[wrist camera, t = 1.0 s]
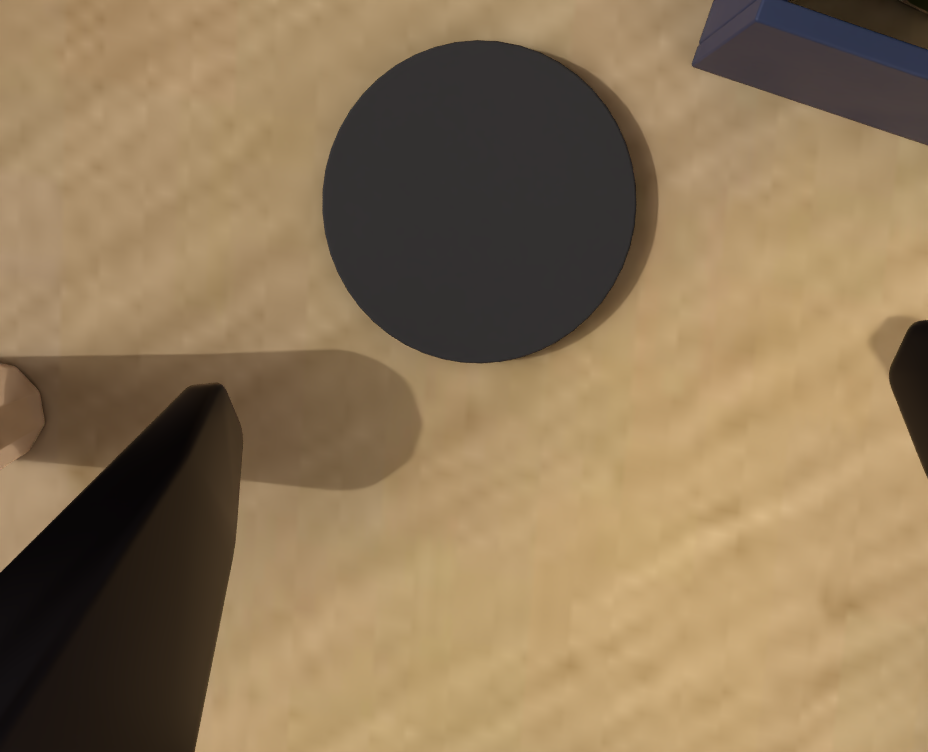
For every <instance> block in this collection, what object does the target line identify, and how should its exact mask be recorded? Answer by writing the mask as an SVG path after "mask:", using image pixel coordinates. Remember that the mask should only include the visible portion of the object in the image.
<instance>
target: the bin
mask: <svg viewBox="0 0 928 752" xmlns="http://www.w3.org/2000/svg"><path fill="white" fill-rule="evenodd" d="M787 1H789V0H714V1H713V4H712V7H711V10H710V13H709V15H708V18H707V21H706V24H705V27H704V30H703V33H702V36H701V38H700V41H699V44H700V45H699V46H698V47H697V50H696V53H695V56H694V59H693V62H692V66H693V67H695V68H698V69H701V70H704V71H707V72H710V73H713V74H716V75H719V76H722V77H725V78H728V79H731V80H734V81H737V82H740V83H743V84H746V85H749V86H752V87H755V88H758V89H761V90H764V91H767V92H770V93H773V94H776V95H779V96H782V97H785V98H788V99H791V100H794V101H797V102H800V103H803V104H806V105H809V106H812V107H815V108H818V109H821V110H824V111H827V112H830V113H833V114H836V115H839V116H842V117H845V118H848V119H851V120H854V121H857V122H860V123H863V124H866V125H869V126H872V127H875V128H878V129H881V130H884V131H887V132H890V133H893V134H896V135H899V136H902V137H905V138H908V139H911V140H914V141H917V142H920V143H923V144H926V145H928V50H927V49H924V48H921V47H918V46H915V45H912V44H910V43H907V42H904V41H901V40H898V39H895V38H892V37H889V36H886V35H883V34H880V33H877V32H875V31H872V30H869V29H866V28H863V27H860V26H857V25H854V24H851V23H848V22H845V21H843V20H840V19H837V18H834V17H831V16H828V15H825V14H822V13H819V12H816V11H813V10H810V9H808V8H805V7H802V6H799V5H796V4H793V3H790V2H787Z"/></svg>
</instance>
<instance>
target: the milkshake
mask: <svg viewBox="0 0 928 752" xmlns="http://www.w3.org/2000/svg"><path fill="white" fill-rule="evenodd" d="M44 425H45V420H44V414H43V408H42V402H41V396H40V392H39V391H38V389H37V388H36V387H35V386H34V385H33V384H32V383H31V382H30V381H29V380H28V379H27V378H26V377H25V376H24V375H23V373H22V372H21V371H20V370H19V369H18V368H17V367H15V366H11V365H7V364H4V363H0V470H1V469H2V468H4V467H5V466H7V465H8V464H10V463H11V462H13V461H14V460H16V459H17V458H19V457H21V456H22V455H24V454H25V453H27V452H28V451H29V450H30V449H31V447H32V446H33V444H34V442H35V440H36V438H37V437H38V435H39V433H40V431H41V430H42V428H43V426H44Z"/></svg>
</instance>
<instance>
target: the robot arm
mask: <svg viewBox="0 0 928 752" xmlns="http://www.w3.org/2000/svg"><path fill="white" fill-rule="evenodd" d="M889 381H890V385H891V388H892V391H893V394H894V396H895V399H896V401H897V404H898V406H899V409H900V411H901V414H902V416H903V419H904V421H905V424H906V426H907V429H908V431H909V434H910V436H911V439H912V441H913V444H914V446H915V449H916V451H917V454H918V456H919V459H920V461H921V464H922V466H923V469H924V471H925V473H926V476H927V478H928V320H923V321H918V322H915V323H914V324H912V325H911V326H910V327H909V329H908V330H907V332H906V334H905V337H904V339H903V341H902V343H901V345H900V347H899V349H898V351H897V354H896V356H895V358H894V360H893V362H892V364H891V367H890V371H889ZM242 449H243V434H242V428H241V425H240V422H239V420H238V417H237V415H236V412H235V410H234V408H233V405H232V403H231V400H230V398H229V395H228V393H227V391H226V389H225V387H224V386H223V385H221V384H219V383H208V384H197V385H192V386H189V387H188V388H186V389H185V390H184V391H183V392H182V393H181V394H180V395H179V396H178V397H177V398H176V399H175V400H174V401H173V402H172V403H171V404H170V405H169V406H168V407H167V408H166V409H165V410H164V411H163V412H162V413H161V414H160V415H159V416H158V417H157V418H156V419H155V420H154V421H153V422H152V423H151V424H150V425H149V426H148V427H147V428H146V429H145V430H144V431H143V432H142V433H141V434H140V435H139V436H138V437H137V438H136V439H135V440H134V441H133V442H132V443H131V444H130V445H129V446H128V447H127V448H126V449H125V450H124V451H123V452H121V453H120V454H119V455H118V456H117V457H116V458H115V459H114V460H113V461H112V462H111V463H110V464H109V465H108V466H107V467H106V468H105V469H104V470H103V471H102V472H101V473H100V474H99V475H98V476H97V477H96V478H95V479H94V480H93V481H92V482H91V483H90V484H89V485H88V486H87V487H86V488H85V489H84V490H83V491H82V492H81V493H80V494H79V495H78V496H77V497H76V498H75V499H74V500H73V501H72V502H71V503H70V504H69V505H68V506H67V507H66V508H65V509H64V510H63V511H62V512H61V513H60V514H59V515H58V516H57V517H56V518H55V519H54V520H53V521H52V522H51V523H50V524H49V525H48V526H47V527H46V528H45V529H44V530H43V531H42V532H41V533H40V534H39V535H38V536H37V537H36V538H35V539H34V540H33V541H32V542H31V543H30V544H29V545H28V546H27V547H26V548H25V549H24V550H23V551H22V552H21V553H20V554H19V555H18V556H17V557H16V558H15V559H14V560H13V561H12V562H11V563H10V564H9V565H8V566H7V567H6V568H5V569H4V570H3V571H2V572H1V573H0V752H195V747H196V742H197V737H198V732H199V727H200V722H201V717H202V712H203V707H204V702H205V696H206V691H207V686H208V681H209V676H210V671H211V666H212V661H213V656H214V651H215V646H216V641H217V636H218V631H219V626H220V621H221V616H222V611H223V606H224V600H225V595H226V590H227V585H228V580H229V575H230V570H231V565H232V560H233V554H234V548H235V541H236V530H237V518H238V504H239V490H240V476H241V462H242Z"/></svg>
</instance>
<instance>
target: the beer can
mask: <svg viewBox="0 0 928 752" xmlns="http://www.w3.org/2000/svg"><path fill="white" fill-rule="evenodd" d="M900 1H901V2H903V3H905V4H907V5H909V6H911V7H913V8H915V9H917V10H919V11H921V12H924V13H927V14H928V0H900Z"/></svg>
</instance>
